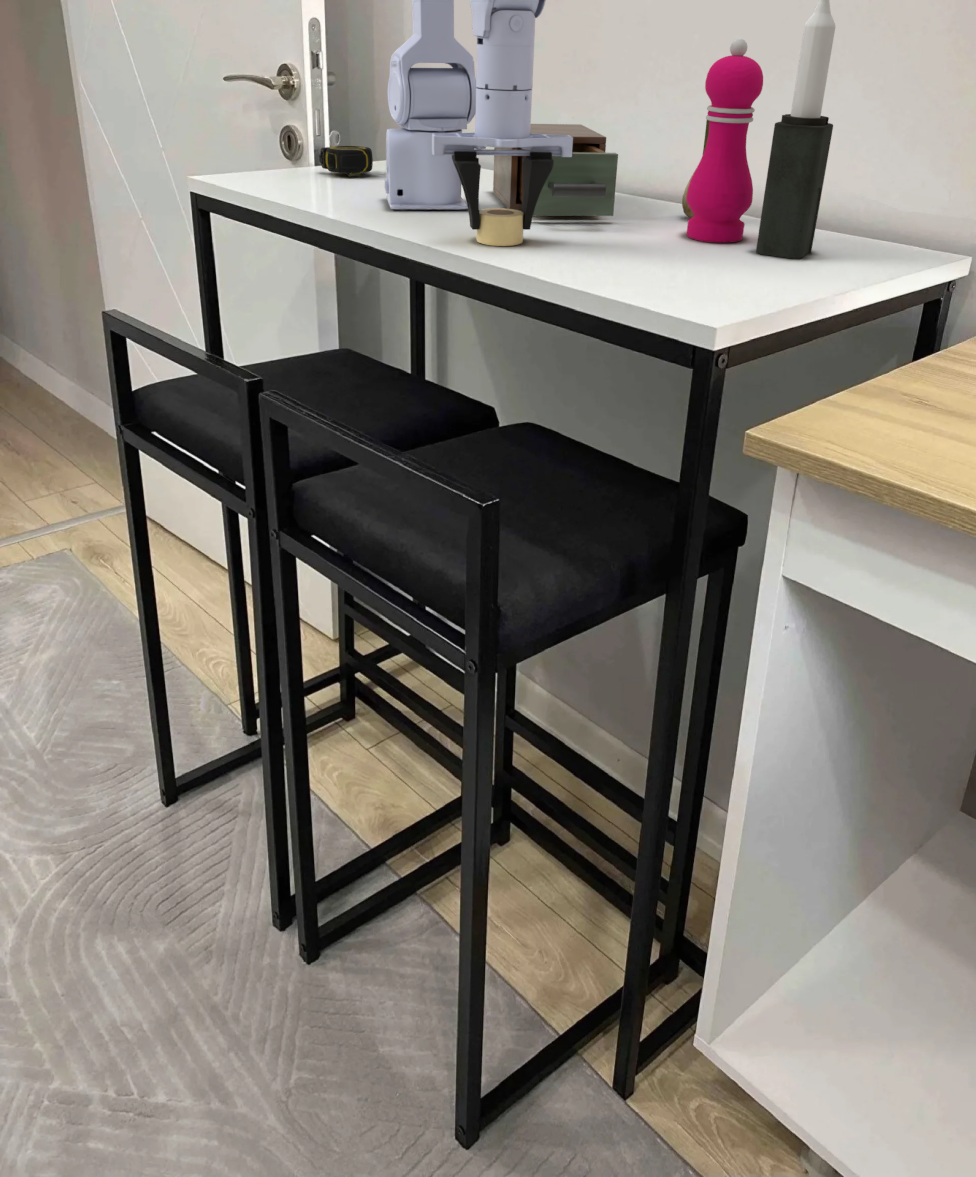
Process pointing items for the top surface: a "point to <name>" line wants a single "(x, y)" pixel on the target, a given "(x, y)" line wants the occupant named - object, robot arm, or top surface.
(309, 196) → the top surface
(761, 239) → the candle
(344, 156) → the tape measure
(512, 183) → the cabinet
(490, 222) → the tape roll
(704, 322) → the top surface
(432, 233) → the top surface
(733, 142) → the pepper mill
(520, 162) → the drawer
